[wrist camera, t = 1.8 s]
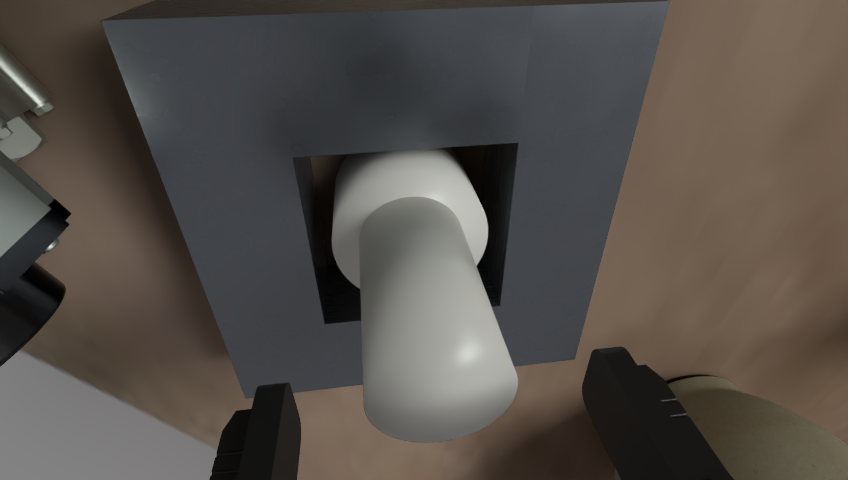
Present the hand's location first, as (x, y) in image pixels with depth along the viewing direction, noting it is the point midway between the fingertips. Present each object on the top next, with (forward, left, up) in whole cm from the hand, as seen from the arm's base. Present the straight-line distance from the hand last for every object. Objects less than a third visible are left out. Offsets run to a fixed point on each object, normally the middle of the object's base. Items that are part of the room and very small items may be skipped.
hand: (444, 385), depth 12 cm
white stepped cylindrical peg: (0, 0, -11) cm, 11 cm away
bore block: (0, 0, -11) cm, 11 cm away
